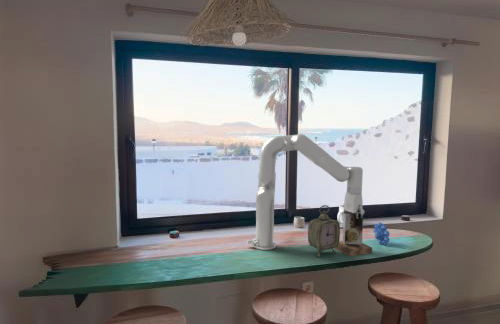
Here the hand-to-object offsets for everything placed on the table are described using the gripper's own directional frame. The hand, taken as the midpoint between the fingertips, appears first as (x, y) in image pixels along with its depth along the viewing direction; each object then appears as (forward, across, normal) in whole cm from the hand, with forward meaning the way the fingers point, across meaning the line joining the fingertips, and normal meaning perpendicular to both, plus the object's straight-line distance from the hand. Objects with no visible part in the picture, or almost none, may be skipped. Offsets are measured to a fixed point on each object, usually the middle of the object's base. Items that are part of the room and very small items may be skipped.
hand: (352, 223), depth 178 cm
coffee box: (+10, 0, 0) cm, 10 cm away
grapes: (+14, -4, +21) cm, 26 cm away
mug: (+15, -43, +26) cm, 52 cm away
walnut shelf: (+14, 0, 0) cm, 14 cm away
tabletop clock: (+15, 0, -18) cm, 23 cm away
